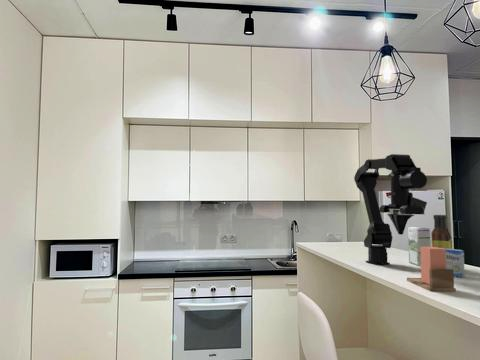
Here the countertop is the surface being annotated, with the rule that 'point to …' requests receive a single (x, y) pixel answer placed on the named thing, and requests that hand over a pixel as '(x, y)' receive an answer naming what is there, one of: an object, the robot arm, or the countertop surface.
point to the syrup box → (417, 243)
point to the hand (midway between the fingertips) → (400, 234)
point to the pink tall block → (431, 261)
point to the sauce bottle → (441, 233)
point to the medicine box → (455, 261)
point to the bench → (437, 280)
